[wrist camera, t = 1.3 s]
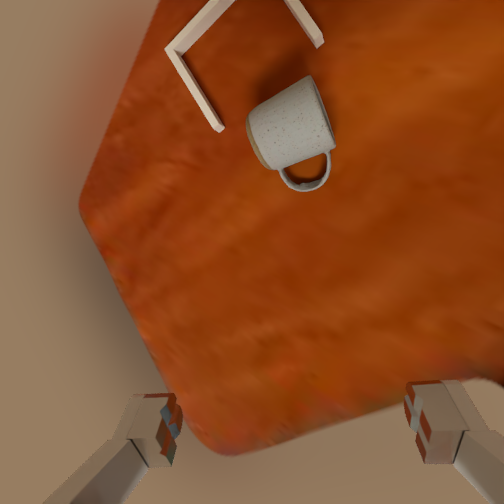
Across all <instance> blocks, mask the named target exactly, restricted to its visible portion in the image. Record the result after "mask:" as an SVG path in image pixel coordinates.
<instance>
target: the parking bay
mask: <svg viewBox="0 0 504 504" xmlns="http://www.w3.org/2000/svg"><path fill="white" fill-rule="evenodd" d="M234 1H235V0H210V1H209V2H208V3H207V4H206V5H205V6H204V7H203V8H202V9H201V10H200V11H199V12H198V13H197V15H196V16H195V17H194V18H193V19H192V20H191V21H190V22H189V23H188V24H187V25H186V26H185V27H184V29H183V30H182V31H181V32H180V33H179V34H178V35H177V36H176V37H175V38H174V39H173V40H172V41H171V42H170V44H169V45H168V46H167V47H166V48H165V51H166V53H167V54H168V56H169V58H170V59H171V61H172V62H173V64H174V66H175V67H176V69H177V71H178V72H179V74H180V76H181V77H182V79H183V80H184V82H185V84H186V85H187V87H188V89H189V90H190V92H191V93H192V95H193V97H194V98H195V100H196V102H197V103H198V105H199V107H200V108H201V110H202V111H203V113H204V115H205V116H206V118H207V120H208V121H209V123H210V124H211V126H212V128H213V129H214V130H216V131H217V132H219V133H220V132H221V131H222V130H223V129H224V128H225V127H224V125H223V124H222V122H221V120H220V119H219V117H218V115H217V114H216V112H215V111H214V109H213V107H212V106H211V104H210V102H209V101H208V99H207V98H206V96H205V94H204V93H203V91H202V90H201V88H200V86H199V85H198V83H197V81H196V80H195V78H194V77H193V75H192V73H191V72H190V70H189V69H188V67H187V65H186V64H185V62H184V60H183V59H182V57H181V56H182V55H183V54H184V53H185V52H186V51H187V50H188V49H189V48H190V47H191V46H192V45H193V44H194V43H195V42H196V41H197V40H198V38H199V37H200V36H201V35H202V34H203V33H204V32H205V31H206V30H207V29H208V28H209V27H210V26H211V25H212V24H213V23H214V22H215V21H216V20H217V19H218V18H219V17H220V16H221V15H222V14H223V13H224V12H225V11H226V10H227V9H228V7H229V6H230V5H231V4H232V3H233V2H234ZM284 2H285V3H286V5H287V6H288V8H289V9H290V11H291V12H292V14H293V15H294V17H295V18H296V19H297V21H298V22H299V24H300V25H301V27H302V28H303V30H304V31H305V33H306V34H307V36H308V37H309V38H310V40H311V41H312V43H313V44H314V46H315V47H316V49H317V48H318V47H320V46H321V45H322V44H323V43H324V39H323V35H322V32H321V31H320V30H319V28H318V27H317V25H316V24H315V22H314V21H313V19H312V18H311V17H310V15H309V14H308V12H307V11H306V9H305V8H304V6H303V5H302V4H301V2H300V1H299V0H284Z"/></svg>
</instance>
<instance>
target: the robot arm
mask: <svg viewBox="0 0 504 504" xmlns="http://www.w3.org/2000/svg"><path fill="white" fill-rule="evenodd" d="M406 391H407V393H408V395H407V396H405V397H404V409H405V414H406V417H407V421H408V423H409V426H410V428H411V429H413V430H414V431H415V432H416V433H417V435H416V440H415V441H416V444H417V447H418V449H419V452H420V455H421V457H422V460H423V462H424V464H454V467H455V468H456V469H457V470H458V471H459V472H460V473H461V474H462V475H463V476H464V477H465V478H466V479H467V480H468V481H469V482H470V483H471V484H472V486H473V487H474V488H475V489H476V490H477V491H478V492H479V493H480V494H481V495H482V496H483V497H484V498H485V499H486V500H487V501H488V502H489V503H490V504H504V437H503V436H502V435H501V434H499V433H498V432H496V431H495V430H489V428H488V427H487V425H486V423H485V422H484V420H483V419H482V417H481V415H480V414H479V412H478V410H477V409H476V407H475V405H474V404H473V402H472V400H471V399H470V397H469V396H468V394H467V393H466V391H465V389H464V387H463V386H462V384H461V383H460V382H459V381H458V380H441V381H439V380H432V381H416V382H408V383H407V384H406ZM176 399H177V398H176V396H175V394H174V393H160V394H134V395H133V396H132V397H131V398H130V399H129V402H128V404H127V406H126V408H125V411H124V413H123V415H122V418H121V420H120V422H119V424H118V427H117V429H116V431H115V434H114V436H113V438H112V440H107V441H106V442H105V443H104V444H103V445H102V446H101V447H100V448H99V449H98V450H97V451H96V452H95V453H94V454H93V455H92V456H91V457H90V458H89V459H88V460H87V461H86V462H85V463H84V464H82V466H80V468H79V469H77V470H76V471H75V472H74V473H73V474H72V475H71V476H70V477H69V478H68V479H67V480H66V481H65V482H64V483H63V484H62V485H61V486H60V487H59V488H58V489H57V490H56V491H55V492H54V493H53V494H52V495H50V496H49V497H48V498H47V499H46V500H45V501H44V502H43V504H123V503H124V502H125V500H126V499H127V498H128V497H129V495H130V494H131V492H132V491H133V490H134V488H135V487H136V485H137V484H138V483H139V482H140V480H141V479H142V478H143V476H144V475H145V473H146V472H147V471H148V470H149V469H148V468H153V467H171V466H172V463H173V459H174V455H175V452H176V448H177V445H176V443H175V439H176V438H177V436H178V435H179V434H180V432H181V428H182V422H183V414H182V409H181V407H180V406H179V405H178V404H176Z"/></svg>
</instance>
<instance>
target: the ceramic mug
mask: <svg viewBox="0 0 504 504" xmlns="http://www.w3.org/2000/svg"><path fill="white" fill-rule="evenodd" d="M246 130H247V134H248V138H249V140H250V143H251V145H252V148H253V150H254V152H255V154H256V155H257V157H258V159H259V160H260V162H261V163H262V164H263V166H265V167H266V168H268V169H270V170H278V171H279V173H280V175H281V178H282V179H283V181H284V182H285V183H286V184H287V185H288V186H289V187H290V188H292V189H294V190H297V191H301V192H306V191H311V190H315V189H317V188H319V187H320V186H322V185H323V184H324V183H325V182H326V180H327V178H328V176H329V173H330V169H331V155H330V150H331V149H333V148H335V147H336V142H335V138H334V134H333V132H332V129H331V125H330V122H329V119H328V116H327V113H326V110H325V108H324V105H323V102H322V99H321V97H320V94H319V92H318V89H317V87H316V85H315V82H314V80H313V78H312V77H311V76H310V75H308V76H306V77H304V78H303V79H301V80H299V81H298V82H296V83H295V84H293V85H291V86H289V87H288V88H286V89H285V90H283V91H281V92H280V93H278V94H276V95H275V96H273V97H272V98H270V99H268V100H266V101H265V102H263V103H261V104H260V105H258V106H257V107H255V108H254V109H253V110H252V111H251V112H250V113H249V114H248V115H247V118H246ZM321 153H325V154H326V156H327V170H326V173H325V175H324V177H322V178H321V179H320V180H316V181H313V182H310V183H301V184H300V185H298V184H296V183H294V182H292V181H291V180H290V179H289V177H288V176H287V175H286V173H285V171H284V169H283V168H285V167H288V166H290V165H293V164H295V163H298V162H300V161H302V160H305V159H308V158H311V157H313V156H316V155H319V154H321Z"/></svg>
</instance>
